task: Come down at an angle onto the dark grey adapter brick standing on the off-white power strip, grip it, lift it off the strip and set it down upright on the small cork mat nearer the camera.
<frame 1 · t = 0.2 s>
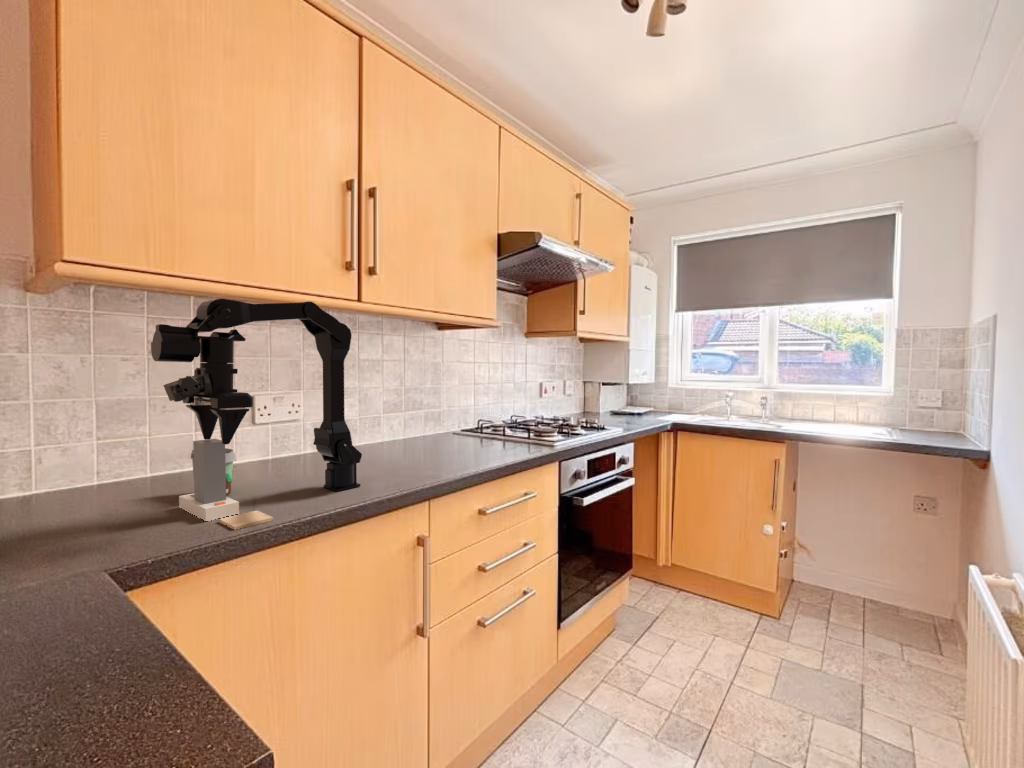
hand: (216, 441, 97), 15 cm above the counter, tool pointing down, fingers open, 9 cm apart
food container: (219, 493, 113), on the counter
adapter brick: (210, 499, 99), point 2 cm above the counter, touching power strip
cork mat: (246, 521, 93), on the counter
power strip: (208, 510, 100), on the counter
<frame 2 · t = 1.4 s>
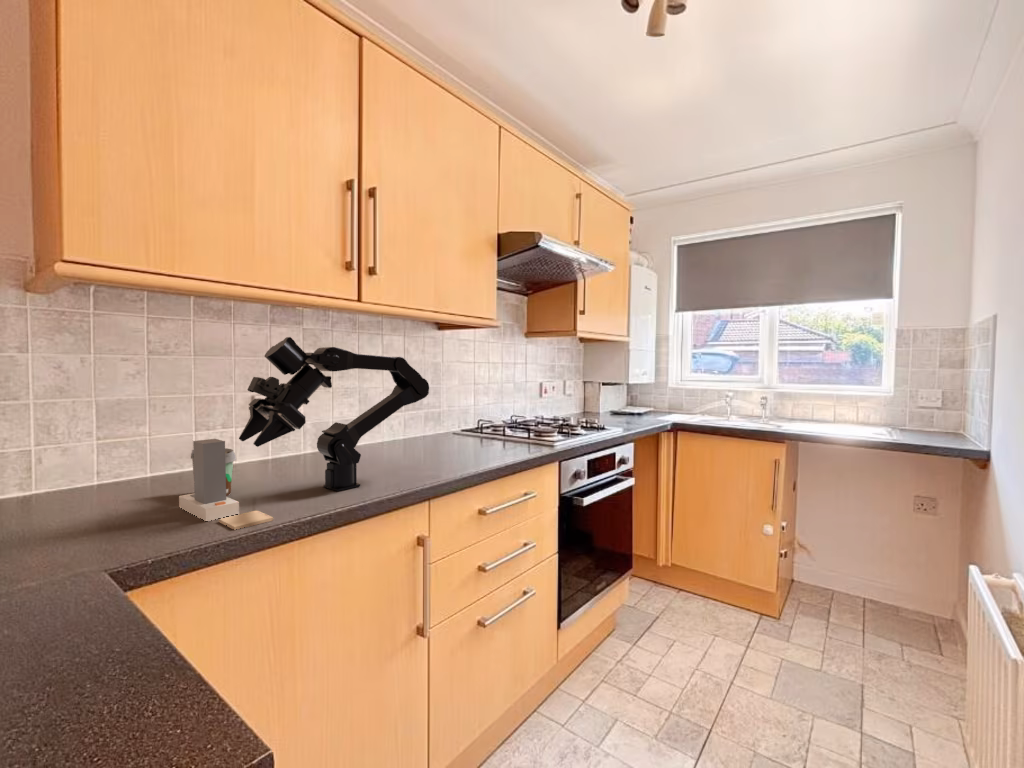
hand: (247, 442, 104), 13 cm above the counter, tool tilted 45°, fingers open, 9 cm apart
nothing on the counter moved.
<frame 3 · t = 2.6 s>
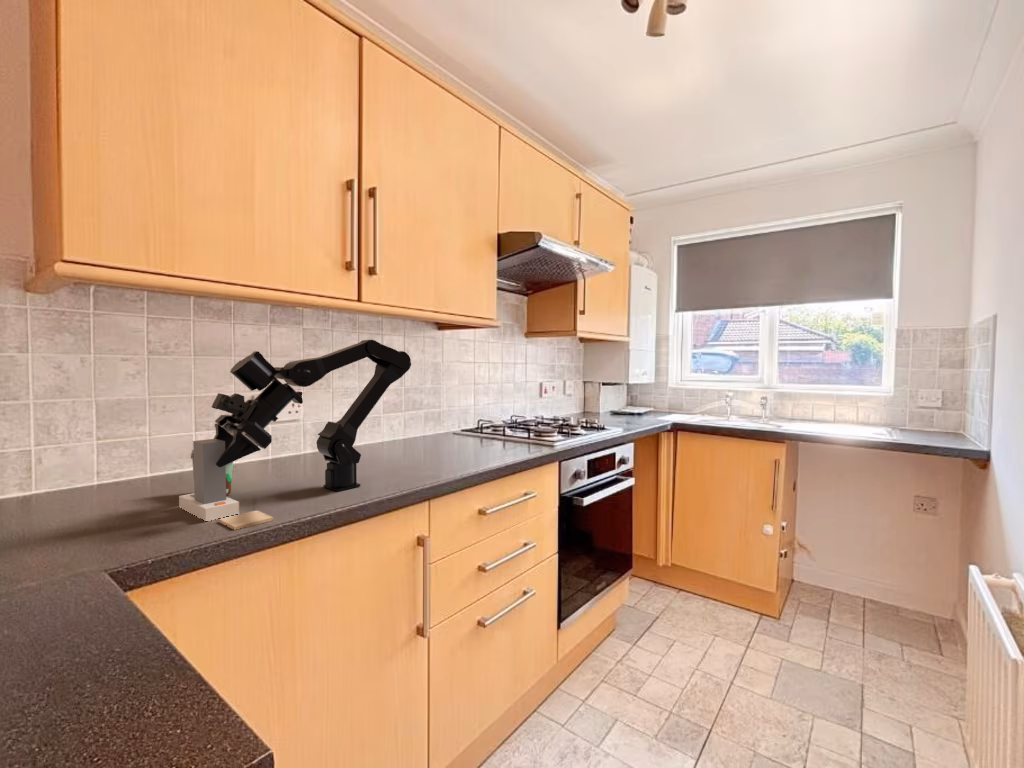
hand: (210, 462, 99), 10 cm above the counter, tool tilted 45°, fingers open, 9 cm apart
nothing on the counter moved.
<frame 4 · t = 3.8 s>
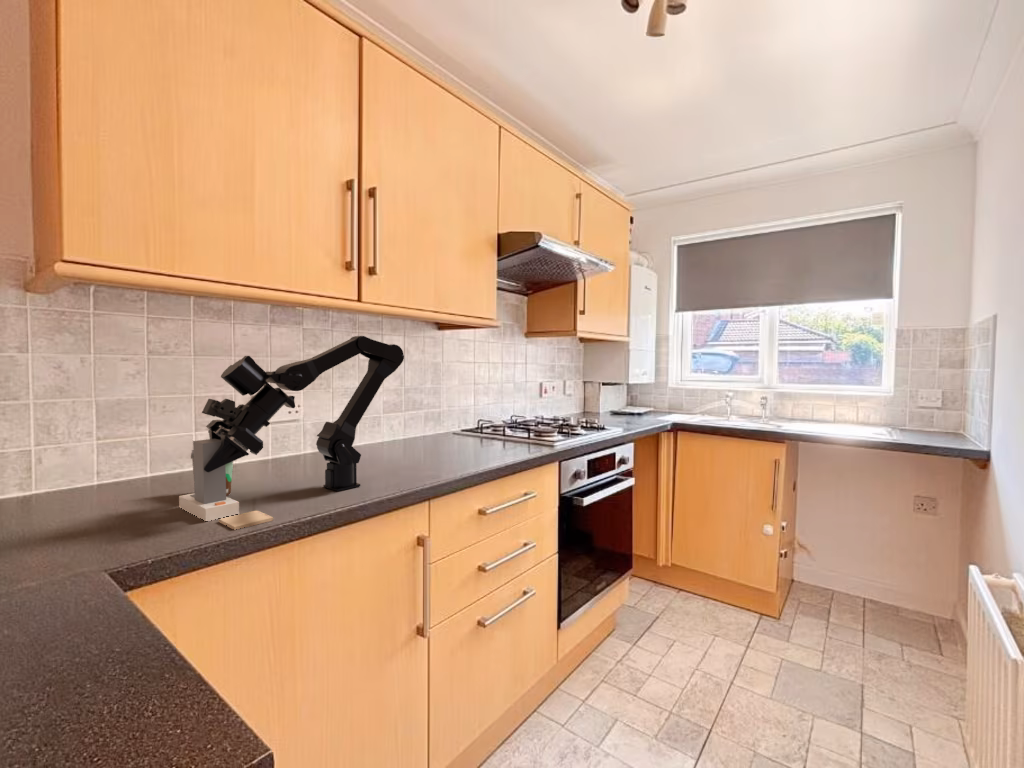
hand: (201, 468, 98), 9 cm above the counter, tool tilted 45°, fingers closed on adapter brick, 5 cm apart
adapter brick: (210, 499, 99), point 3 cm above the counter, touching gripper, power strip
everything else where it was.
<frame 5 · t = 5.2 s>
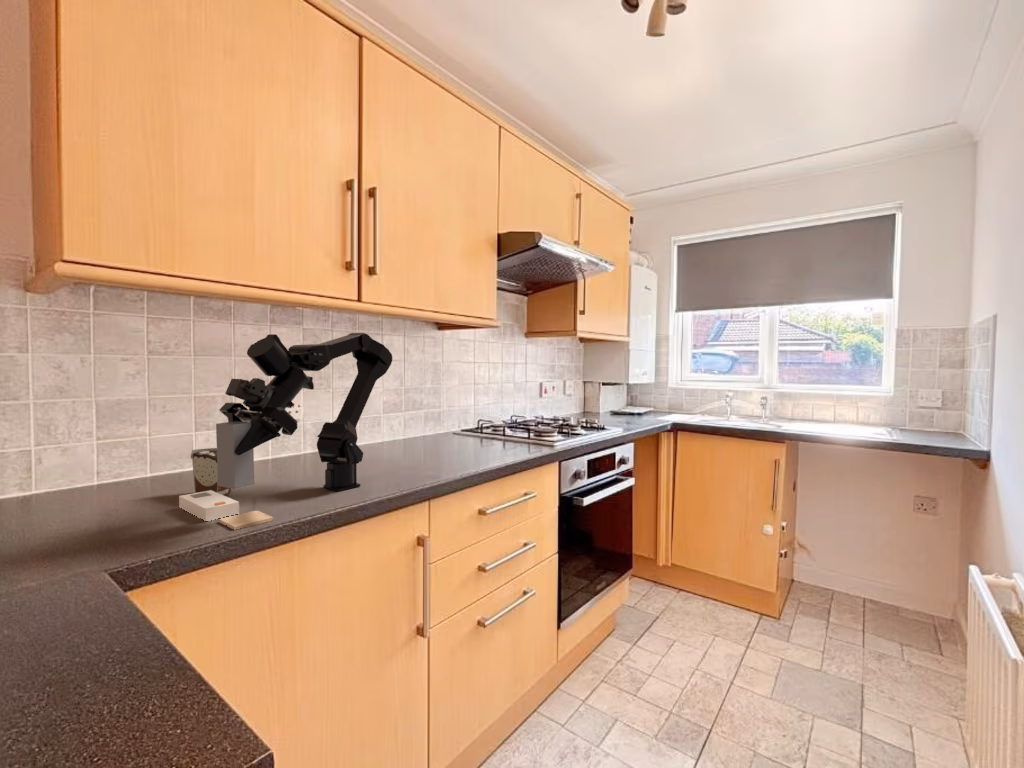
hand: (228, 452, 93), 13 cm above the counter, tool tilted 45°, fingers closed on adapter brick, 5 cm apart
adapter brick: (236, 484, 94), point 7 cm above the counter, touching gripper
everything else where it was.
when the fingers open (8 cm above the counter, at t = 7.0 s): adapter brick drops 1 cm, resting on cork mat.
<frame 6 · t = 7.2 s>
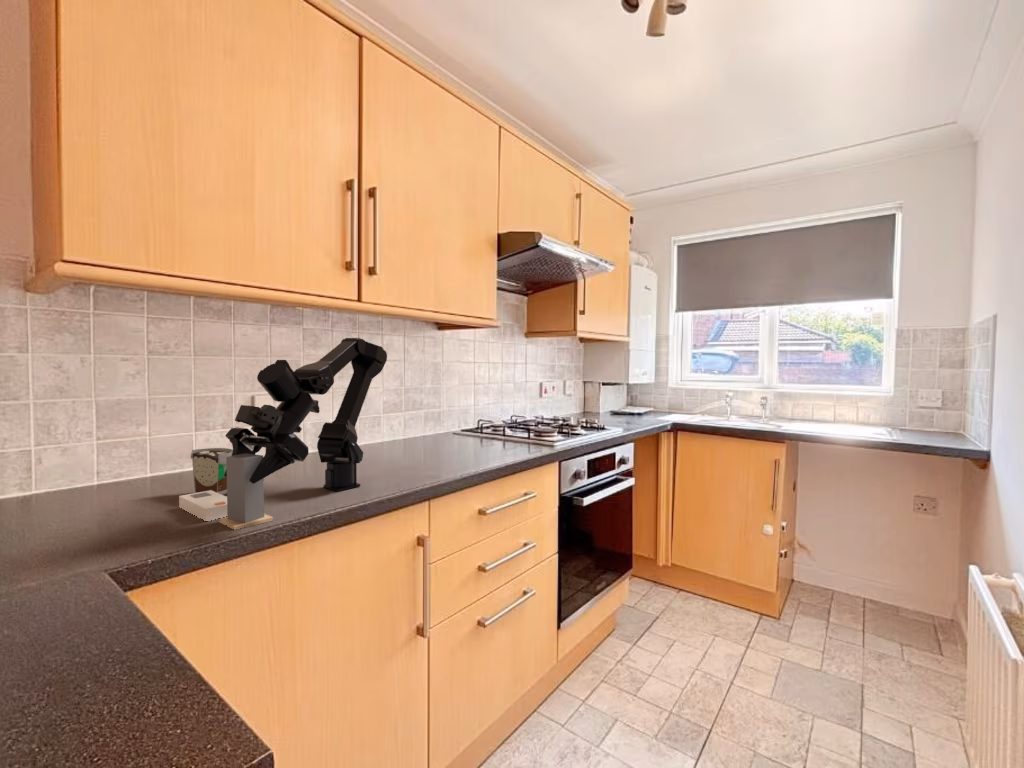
hand: (238, 479, 92), 8 cm above the counter, tool tilted 45°, fingers open, 7 cm apart
adapter brick: (246, 518, 94), point 1 cm above the counter, touching cork mat
everything else where it was.
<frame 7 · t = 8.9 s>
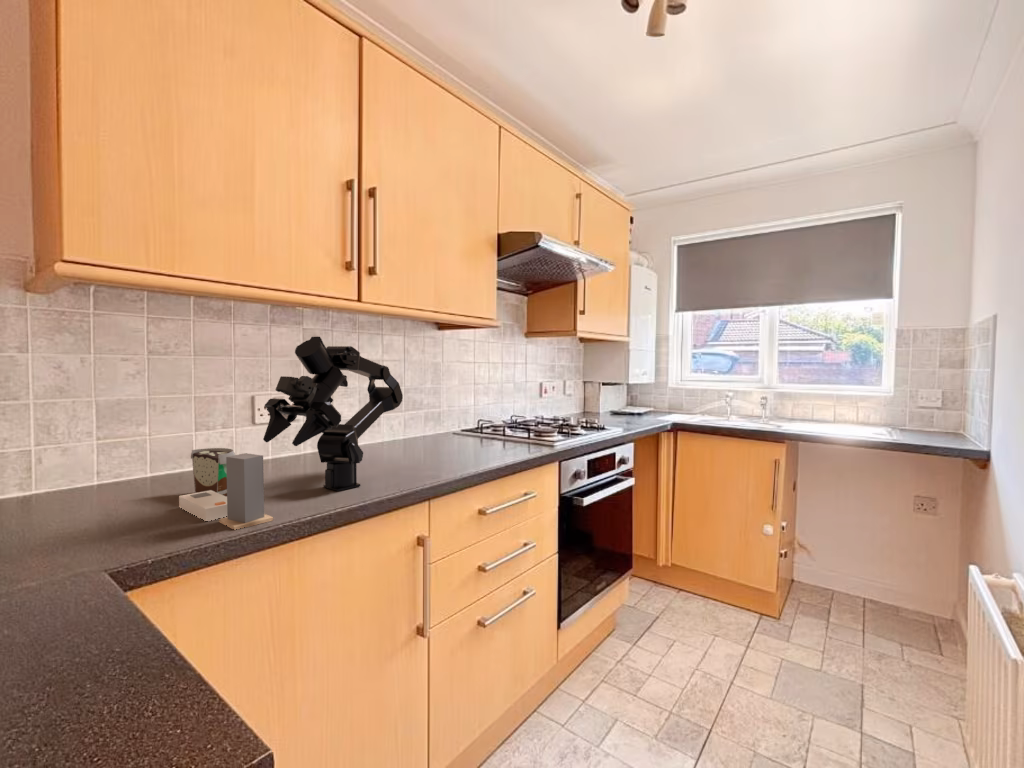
hand: (279, 443, 102), 14 cm above the counter, tool tilted 45°, fingers open, 9 cm apart
nothing on the counter moved.
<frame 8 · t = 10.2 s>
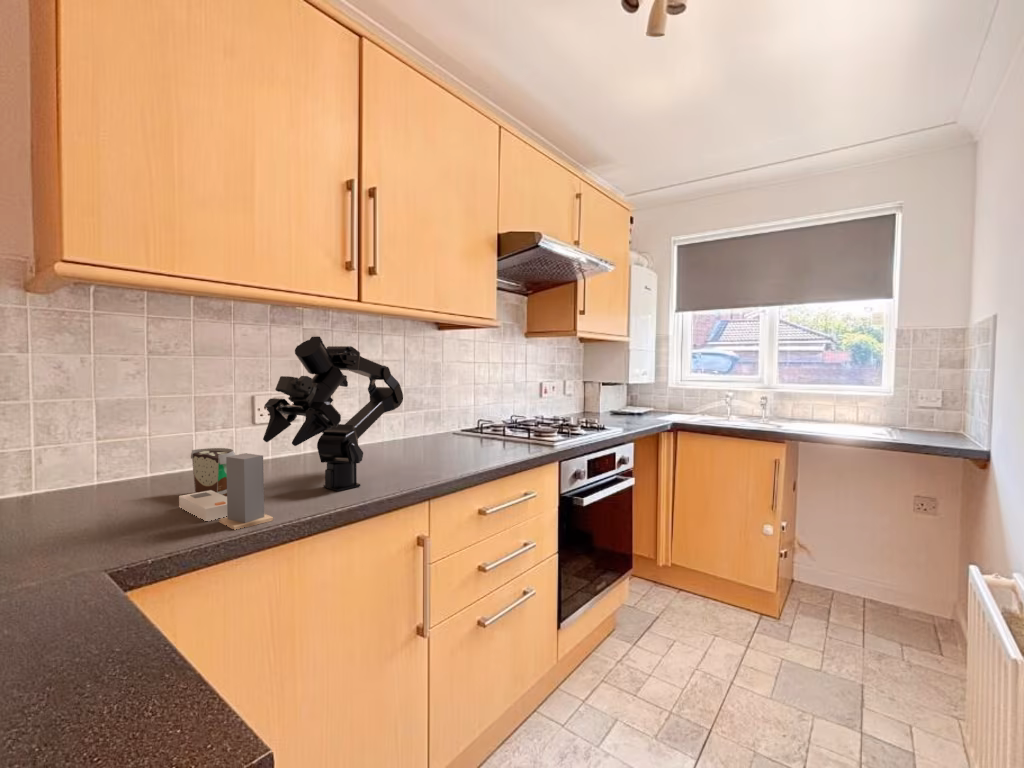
hand: (278, 442, 102), 14 cm above the counter, tool tilted 45°, fingers open, 9 cm apart
nothing on the counter moved.
at the end: adapter brick inside the target area on the cork mat (0.1 cm from its centre), point 0.6 cm above the cork mat's base; adapter brick tilted 0°; adapter brick touching cork mat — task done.
